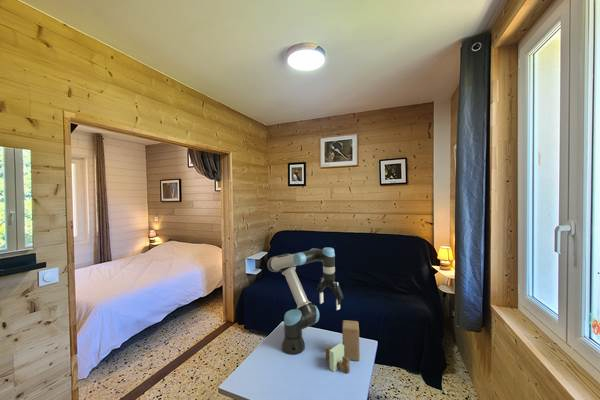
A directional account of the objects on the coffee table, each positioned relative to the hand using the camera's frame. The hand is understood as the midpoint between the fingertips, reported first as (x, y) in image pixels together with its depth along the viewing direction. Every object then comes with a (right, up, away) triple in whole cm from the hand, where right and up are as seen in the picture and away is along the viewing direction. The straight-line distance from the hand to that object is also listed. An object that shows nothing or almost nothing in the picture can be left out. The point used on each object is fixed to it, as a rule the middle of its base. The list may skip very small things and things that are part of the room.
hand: (329, 306), depth 157 cm
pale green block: (+3, -31, -11) cm, 33 cm away
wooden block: (+13, -31, -2) cm, 33 cm away
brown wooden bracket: (+3, -31, -11) cm, 33 cm away
